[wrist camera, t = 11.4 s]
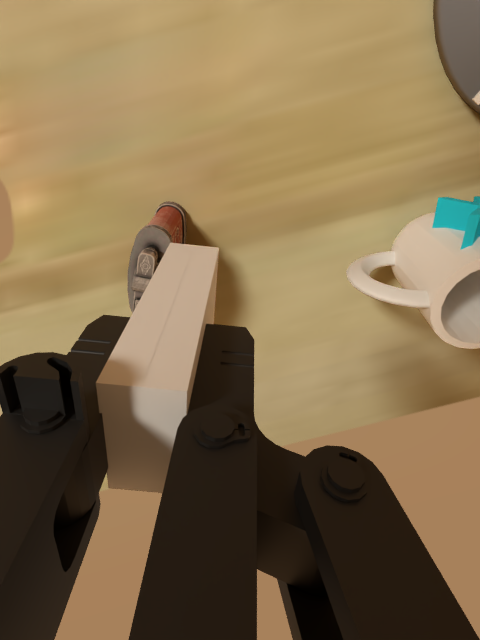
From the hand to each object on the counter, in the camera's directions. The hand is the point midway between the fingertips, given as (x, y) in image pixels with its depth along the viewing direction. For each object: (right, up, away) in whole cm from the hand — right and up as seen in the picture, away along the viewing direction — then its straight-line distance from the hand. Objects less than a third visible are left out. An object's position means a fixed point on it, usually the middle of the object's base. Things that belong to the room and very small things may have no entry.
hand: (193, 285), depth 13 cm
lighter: (-5, +6, +25) cm, 26 cm away
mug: (+16, +7, +24) cm, 30 cm away
